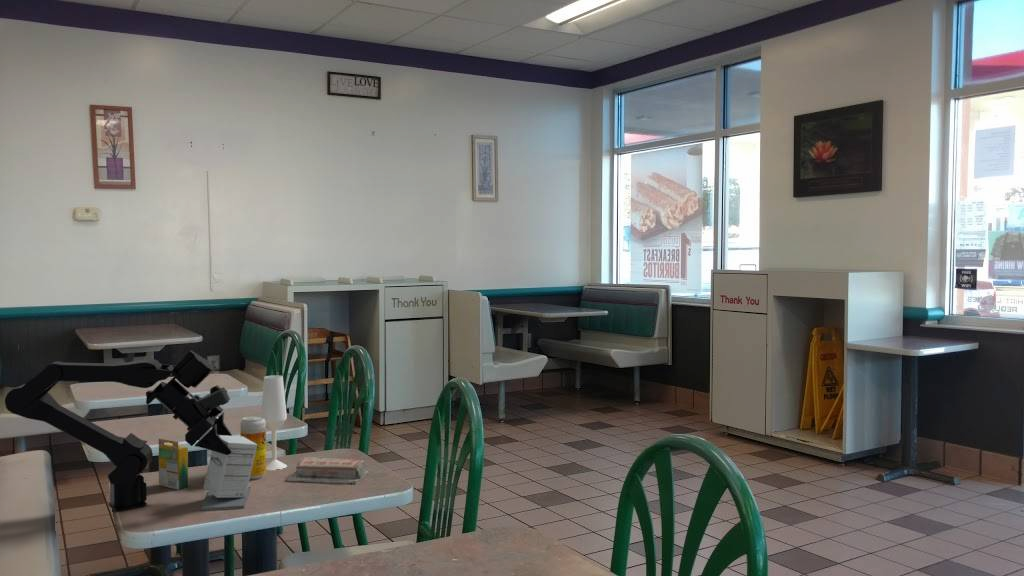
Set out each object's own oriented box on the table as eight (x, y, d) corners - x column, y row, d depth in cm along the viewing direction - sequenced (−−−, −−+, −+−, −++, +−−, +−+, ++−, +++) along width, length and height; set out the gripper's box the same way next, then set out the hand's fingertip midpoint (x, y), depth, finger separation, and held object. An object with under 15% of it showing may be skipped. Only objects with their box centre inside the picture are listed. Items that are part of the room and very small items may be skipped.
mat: (201, 510, 174) (201, 508, 174) (210, 491, 188) (210, 489, 188) (244, 508, 176) (243, 505, 176) (250, 489, 190) (250, 487, 190)
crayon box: (189, 487, 192) (188, 439, 191) (178, 490, 189) (177, 442, 188) (169, 482, 195) (168, 435, 195) (158, 485, 193) (157, 438, 192)
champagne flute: (285, 462, 214) (284, 374, 213) (289, 468, 208) (288, 378, 207) (259, 464, 211) (258, 375, 210) (262, 471, 205) (261, 379, 204)
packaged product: (368, 456, 205) (356, 466, 195) (368, 474, 205) (356, 486, 195) (301, 453, 207) (286, 463, 197) (301, 471, 207) (286, 483, 197)
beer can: (261, 480, 198) (260, 420, 197) (237, 479, 198) (236, 420, 197) (269, 473, 204) (268, 415, 203) (245, 473, 204) (245, 415, 203)
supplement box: (202, 488, 182) (214, 434, 183) (232, 488, 187) (244, 435, 188) (215, 498, 177) (227, 442, 177) (246, 497, 182) (258, 443, 182)
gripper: (200, 383, 171) (254, 432, 174) (213, 370, 189) (261, 414, 192) (161, 421, 169) (216, 469, 172) (178, 404, 188) (227, 448, 191)
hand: (232, 448), depth 182 cm, fingers closed on supplement box, 9 cm apart
